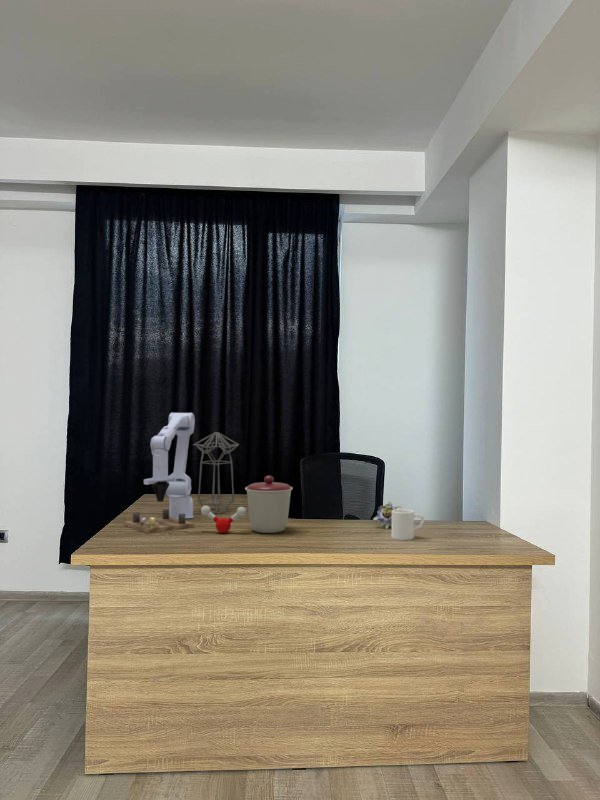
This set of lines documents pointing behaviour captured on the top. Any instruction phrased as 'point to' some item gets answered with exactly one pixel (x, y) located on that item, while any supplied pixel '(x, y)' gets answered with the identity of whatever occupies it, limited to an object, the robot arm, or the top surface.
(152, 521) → the metal crank handle
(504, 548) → the top surface
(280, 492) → the canister
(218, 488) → the geometric lantern
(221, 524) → the molecular model
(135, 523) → the wooden board with pegs
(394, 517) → the mug
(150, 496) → the top surface
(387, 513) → the passion flower
